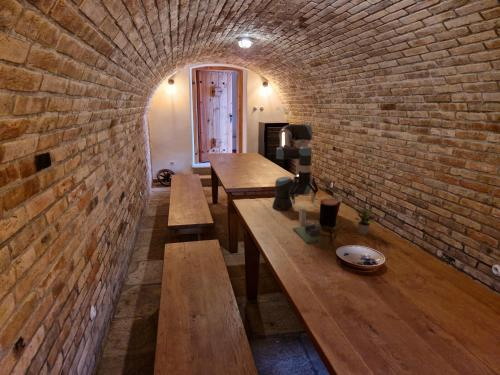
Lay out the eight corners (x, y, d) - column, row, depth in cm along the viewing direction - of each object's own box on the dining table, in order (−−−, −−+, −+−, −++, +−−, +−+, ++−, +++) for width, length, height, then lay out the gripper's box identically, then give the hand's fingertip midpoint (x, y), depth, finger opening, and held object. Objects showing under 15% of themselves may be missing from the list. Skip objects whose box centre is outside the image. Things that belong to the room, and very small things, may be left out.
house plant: (356, 238, 188) (358, 213, 184) (345, 229, 202) (347, 205, 197) (378, 237, 191) (381, 211, 186) (366, 227, 204) (369, 204, 199)
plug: (298, 222, 212) (298, 209, 209) (302, 222, 213) (303, 208, 210) (301, 225, 208) (302, 211, 205) (305, 225, 209) (306, 210, 206)
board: (292, 230, 201) (293, 222, 199) (315, 227, 205) (315, 219, 204) (307, 243, 182) (307, 235, 181) (331, 240, 187) (332, 231, 185)
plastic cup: (332, 211, 232) (333, 196, 229) (343, 215, 224) (345, 199, 221) (321, 214, 226) (322, 198, 223) (333, 219, 218) (334, 203, 215)
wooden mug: (334, 254, 170) (337, 223, 165) (313, 246, 180) (315, 216, 175) (343, 248, 176) (345, 219, 171) (322, 241, 186) (324, 212, 181)
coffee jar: (334, 224, 209) (336, 199, 204) (336, 231, 199) (339, 204, 194) (317, 224, 210) (319, 198, 205) (319, 230, 200) (321, 204, 195)
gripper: (288, 174, 193) (287, 206, 199) (325, 171, 200) (323, 202, 206) (284, 171, 200) (283, 203, 205) (319, 168, 207) (317, 199, 212)
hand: (303, 203), depth 206 cm, fingers open, 13 cm apart
